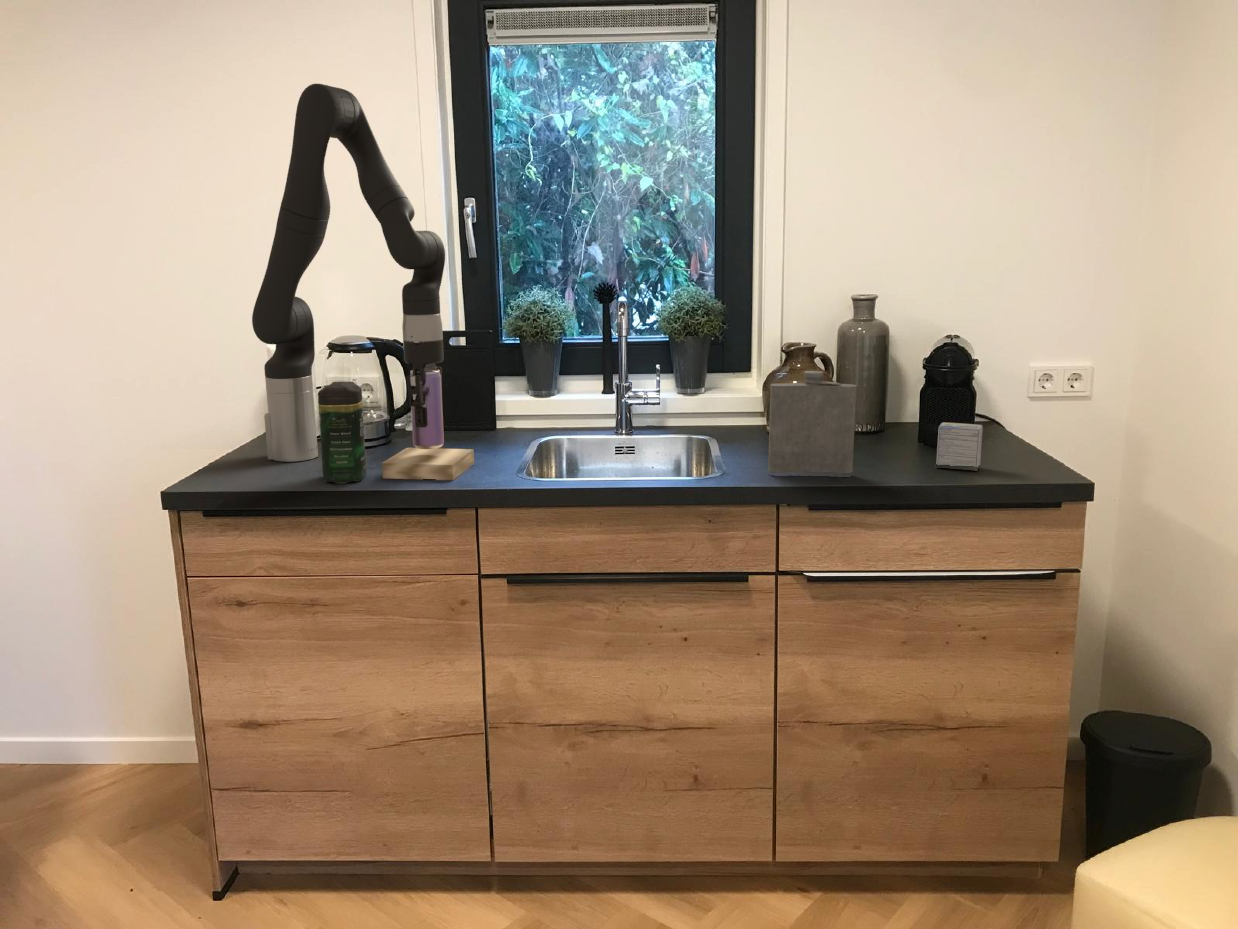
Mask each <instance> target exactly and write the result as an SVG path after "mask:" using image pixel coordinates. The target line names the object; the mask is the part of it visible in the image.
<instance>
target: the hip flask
mask: <svg viewBox="0 0 1238 929" xmlns="http://www.w3.org/2000/svg"><path fill="white" fill-rule="evenodd" d="M803 377H805V378H804V382H799V383H798V382H791V383H790V382H788V383H787V382H785V383H784V382H781V383H771V384H770V390H769V392H770V398H769V429H768V430H769V432H768V434H769V436H768V463H767V466H768V468H767V473H768V472H770V473H787V472H835V473H837V472H838V473H851V472H852V473H853V466H854V446H855V445H854V444H855V442H854V441H855V428H856V426H855V423H856V403H857V385H856V384H852V383H851V384H850V383H849V384H848V383H841V382H835V381H823V379H822V378H823V377H824V371H820V370H806V371H803Z"/></svg>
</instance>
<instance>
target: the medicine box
mask: <svg viewBox="0 0 1238 929" xmlns="http://www.w3.org/2000/svg"><path fill="white" fill-rule="evenodd" d="M983 429H984V428H983V425H982V424H973V423H960V422H959V423H958V422H945V421H944V422H941V423H940V425H939V426H938V430H937V431H938V433H937V434H938V435H937V447H936V464H937V465H950V466H974V467H978V466H979V465H980V466H981V459H982V458H981V457H982V446H983V445H982V443H983V442H982V441H983ZM936 464H935V465H936Z"/></svg>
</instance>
